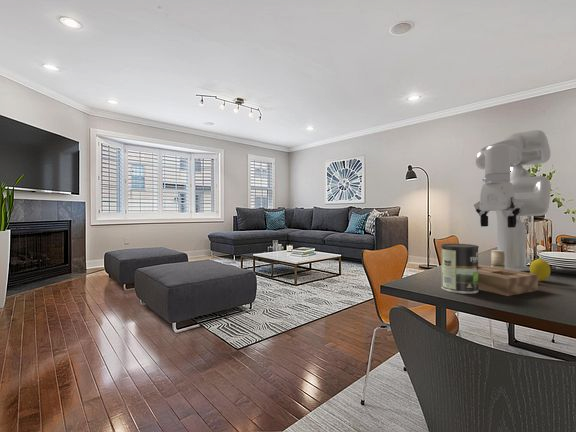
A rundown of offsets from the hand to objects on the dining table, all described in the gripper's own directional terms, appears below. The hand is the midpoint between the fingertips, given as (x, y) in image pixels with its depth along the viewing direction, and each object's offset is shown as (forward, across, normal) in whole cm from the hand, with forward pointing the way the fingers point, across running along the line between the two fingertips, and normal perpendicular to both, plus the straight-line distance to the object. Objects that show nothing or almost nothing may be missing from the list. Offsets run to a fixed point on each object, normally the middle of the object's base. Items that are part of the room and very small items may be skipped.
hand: (497, 226), depth 109 cm
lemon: (+19, +9, +8) cm, 23 cm away
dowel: (+19, 0, 0) cm, 19 cm away
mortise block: (+19, +5, -12) cm, 23 cm away
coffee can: (+19, +5, -25) cm, 32 cm away
